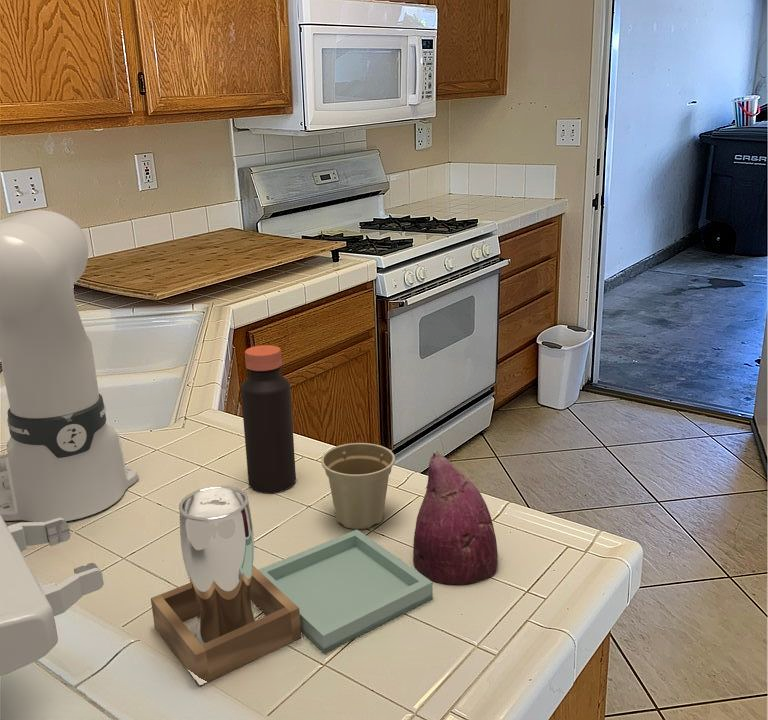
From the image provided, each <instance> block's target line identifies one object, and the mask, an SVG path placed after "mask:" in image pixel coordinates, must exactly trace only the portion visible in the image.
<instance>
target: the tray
mask: <svg viewBox="0 0 768 720" xmlns="http://www.w3.org/2000/svg"><path fill="white" fill-rule="evenodd" d="M258 570H259V571H260V572H261V573H262V574H263V575H264V576H265V577H266V578H267V579H268V580H269V581H271V582H272V583H273V584H274V585H275V586H276V587H277V588H278V589H279V590H280V591H281V592H282V593H283V594H285V595H286V596H287V597H288V598H289V599H290V600H291V601H292V602H293V603H294V604H295V605H296V606H298V607H299V611H300V627H301V634H303V635H304V636H305V637H307V638H308V640H310V641H311V643H312V644H314V645H315V647H317V648H318V649H319V650H320V652H322V653H323V655H324V654H327V653H329V652H331V651H333V650H334V649H336V648H337V649H338V648H339V647H341V646H342V645H344V644H347V643H349V642H350V641H352V640H355V639H356V638H358V637H360V636H362V635H364V634H366V633H368V632H370V631H372V630H375V629H376V628H378V627H380V626H382V625H384V624H385V623H388V622H390V621H392V620H394V619H396V618H397V617H399V616H402V615H403V614H406V613H407V612H409V611H411V610H413V609H415V608H417V607H420V606H421V605H424V604H425V603H427V602H429V601H431V600H433V599H434V598H433V594H434V593H433V590H434V589H433V588H434V587H433V585H434V583H433V582H434V581H432V580H430V579H429V578H427V577H426V576H424V575H423V574H422V573H421V572H419V571H418V570H417V569H415V568H413V567H412V566H410V565H409V564H408V563H405V561H403V560H402V559H400V558H398V557H397V556H396V555H395V554H393V553H391V552H390V551H388V550H387V549H386V548H385V547H383V546H382V545H380V544H378V543H377V542H375V541H374V540H373V539H371V538H370V537H368V536H367V535H366V534H364V533H363V532H362V531H360V530H359V529H353V530H352V531H350V532H347V533H345V534H343V535H340V536H338V537H335V538H333V539H330V540H328V541H325V542H323V543H321V544H318V545H316V546H313V547H311V548H308V549H306V550H302V551H301V552H298V553H296V554H293V555H291V556H289V557H286V558H283V559H281V560H278V561H276V562H274V563H272V564H269V565H266V566H264V567H261V568H259V569H258Z"/></svg>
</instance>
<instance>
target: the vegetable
mask: <svg viewBox="0 0 768 720" xmlns="http://www.w3.org/2000/svg"><path fill="white" fill-rule="evenodd" d="M427 469H428V473H427V478H428V479H427V484H426V488H425V494H424V496H423V500H422V502H421V505H420V508H419V510H418V514H417V517H416V521H415V529H414V535H413V544H412V545H413V550H412V551H413V554H412V556H413V557H412V563H413V566H414V569H415V570H416V571H417V572H419V573H420V574H422V575H423V576H425V577H426V578H427V579H429V580H430V581H432V582H436V583H440V584H445V585H461V586H462V585H469V584H475V583H479V582H481V581H485V580H487V579H490V578H491V577H492V576H494V575H495V574H496V573H497V572H498V571H497V569H498V559H499V557H498V556H499V555H498V553H499V552H498V544H497V538H496V537H497V536H496V534H495V532H496V531H495V528H494V522H493V519H492V516H491V512H490V511H489V508H488V505H487V503H486V501H485V499H484V497H483V495H482V494H481V492H480V490H479V489H478V487H476V484H475V483H474V482H472V481H471V479H469V478H468V477H467V476H466V475H465V474H463V473H462V472H461V471H460V470H459V469H458V468H457V467H456V466H455V465H454V464H453V463H452V462H451V461H450V460H449V459H447V458H446V457H445V456H443V455H441V454H440V452H438V450H436V449H435V450H434V451H433V453H432V456H431V457H430V459H429V462H428V468H427Z"/></svg>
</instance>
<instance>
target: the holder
mask: <svg viewBox="0 0 768 720" xmlns="http://www.w3.org/2000/svg"><path fill="white" fill-rule="evenodd" d="M250 601H251V602H252V603H254V605H256V606H257V608H258V609H259V610H260V611H261V612H262V613H263V614H265V616H263V617H261V618H258V619H255V621H254V622H251V623H249V624H247V625H245V626H243V627H240V628H238V629H236V630H234V631H232V632H229V633H227V634H225V635H223V636H220V637H218V638H216V639H214V640H212V641H209V642H207V643H205V644H203V645H201V644H200V643H199V641H198V640H197V638H196V636H195V635H194V634H193V633H192V632H191V630H190V629H189V628H188V626H187V625H186V624H185V623H184V621H187V620H189V619H192V618H194V617H198V610H197V603H196V599H195V596H194V592H193V589H192V587H191V584H190V582H187V583H186V584H184V585H181V586H179V587H176V588H173V589H170V590H169V591H165V592H162V593H160V594H158V595H155V596H153V597H150V604H151V610H152V617H153V626H154V628H155V630H156V631H157V632H158V633H159V635H160V636H161V638H162V639H163V640H164V642H165V643H166V644H167V645H168V647H169V648H170V649H171V651H172V652H173V653H174V655H175V656H176V658H177V659H178V661H179V662H180V663H181V664H182V665H183V667H184V668H185V667H186V668H187V669H188V670H190V671H191V672H193V673H194V674H195V675H197V676H198V677H199V678H201V679H203V680H205V681H207V682H208V683H210V682H212V681H215V680H217V679H218V678H220V677H222V676H225V675H227V674H229V673H231V672H233V671H235V670H237V669H239V668H241V667H243V666H245V665H247V664H250V663H251V662H254V661H256V660H257V659H260V658H262V657H264V656H266V655H268V654H270V653H272V652H275V651H276V650H278V649H280V648H283V647H284V646H286V645H289V644H291V643H294V642H295V641H297V640H299V639H301V638H302V632H301V627H300V611H299V607H298V606H296V605H295V604H294V603H293V602H292V601H291V600H290V599H289V598H288V597H287V596H286V595H285V594H283V593H282V592H281V591H280V590H279V589H278V588H277V587H276V586H275V585H274V584H273V583H272V582H271V581H269V580H268V579H267V578H266V577H265V576H264V575H263V574H262V573H261V572H260V571H259V569H257V568H256V567H255V566H254V565H253V570H252V578H251V588H250ZM186 668H185V669H186ZM187 669H186V670H187Z"/></svg>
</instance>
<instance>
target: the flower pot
mask: <svg viewBox="0 0 768 720" xmlns="http://www.w3.org/2000/svg"><path fill="white" fill-rule="evenodd" d="M395 462H396V455H395V454H394V452H393V451H392V450H391V449H389V448H387V447H385V446H383V445H380V444H376V443H375V444H374V443H368V442H355V443H354V442H351V443H344V444H340V445H337V446H334V447H332V448H330V449H328V450H327V451H325V452H324V453H323V455H322V456H321V459H320V463H321V466H322V468H323V469H324V471H325V474H326V477H328V483H329V488H330V493H331V498H332V502H333V507H334V514H335V518H336V519H335V520H336V522H338V523H339V524H341V525H343V526H344V527H345V528H347V529H352V530H364V529H366V530H367V529H371V527H372V526H374V525H376V524H378V523H379V524H380V523H381V522H382V521H383V519H384V516H385V515H384V513H385V508H386V507H385V506H386V505H385V504H386V499H387V491H388V483H389V476H390V475H391V473H392V467H393V466H394V465H395ZM379 524H378V525H379Z"/></svg>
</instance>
